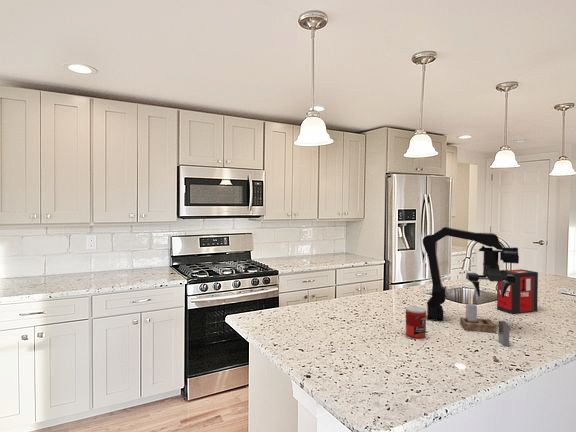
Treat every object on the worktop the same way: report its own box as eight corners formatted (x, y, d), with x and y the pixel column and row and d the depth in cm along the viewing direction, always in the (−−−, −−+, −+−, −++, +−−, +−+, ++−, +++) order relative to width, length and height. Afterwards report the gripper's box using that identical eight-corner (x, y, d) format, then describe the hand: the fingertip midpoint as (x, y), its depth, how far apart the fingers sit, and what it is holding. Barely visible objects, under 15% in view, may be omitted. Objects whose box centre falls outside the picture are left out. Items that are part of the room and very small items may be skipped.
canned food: (416, 340, 142) (416, 312, 142) (401, 334, 149) (401, 307, 149) (430, 337, 145) (430, 310, 145) (414, 331, 153) (415, 305, 152)
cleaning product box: (512, 314, 177) (513, 274, 176) (497, 309, 185) (497, 271, 185) (537, 311, 182) (537, 272, 182) (520, 307, 191) (521, 269, 190)
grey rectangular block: (503, 346, 136) (503, 325, 136) (498, 341, 141) (498, 320, 141) (509, 346, 136) (509, 325, 136) (504, 341, 141) (504, 321, 141)
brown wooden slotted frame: (464, 330, 153) (464, 323, 153) (460, 324, 162) (460, 317, 162) (496, 333, 150) (496, 325, 150) (489, 326, 159) (489, 319, 159)
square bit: (467, 328, 156) (467, 305, 155) (465, 326, 159) (465, 303, 159) (476, 329, 155) (476, 306, 155) (474, 326, 158) (474, 304, 158)
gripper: (472, 263, 152) (471, 300, 153) (521, 265, 148) (521, 303, 148) (466, 260, 163) (465, 294, 164) (512, 261, 159) (511, 296, 159)
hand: (490, 297), depth 158 cm, fingers open, 9 cm apart
